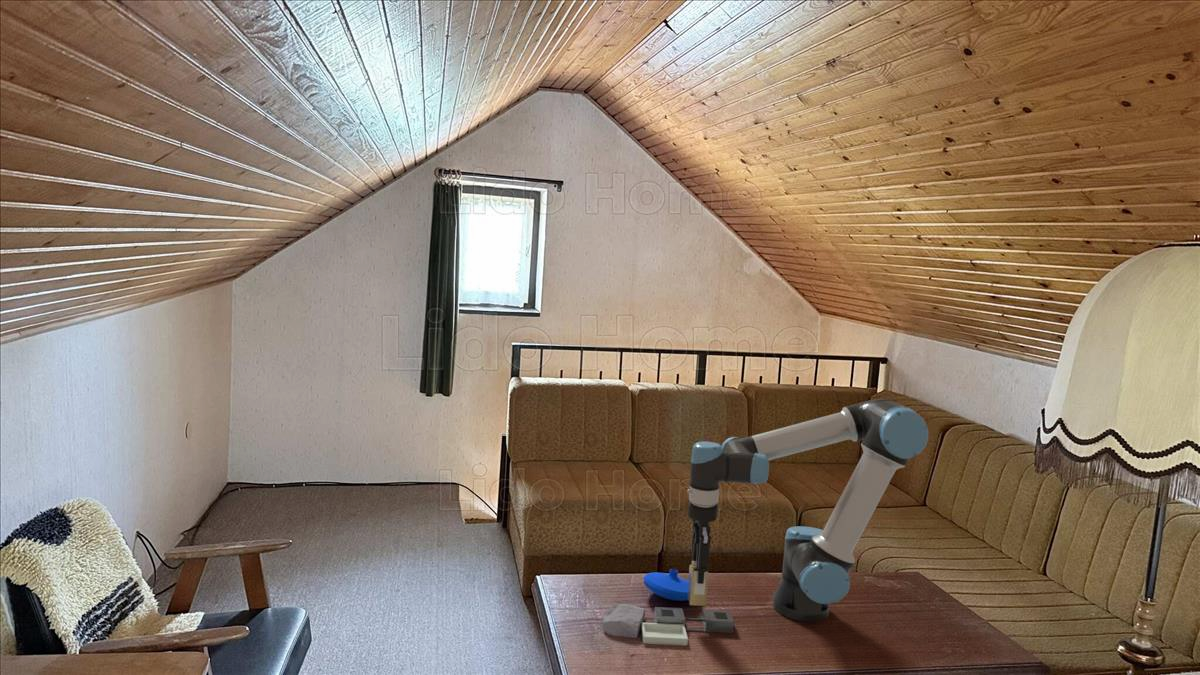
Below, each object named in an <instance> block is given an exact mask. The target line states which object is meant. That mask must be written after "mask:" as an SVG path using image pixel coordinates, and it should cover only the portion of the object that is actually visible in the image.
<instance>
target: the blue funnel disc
mask: <svg viewBox="0 0 1200 675" xmlns="http://www.w3.org/2000/svg"><path fill="white" fill-rule="evenodd" d="M678 573H679V571H678V570H677V569H673V568H670V569H669V573H665V572H657V571H656V572H649V573H647V574H645V575H644V576H643V584H644V585H645V588H648V590H650V591H651V592H652V593H653V594H655V595H657V596H659V597H660V598H661V597H662V598H665V599H667V600H671V601H679V602H683V601H684V602H685V601H689V600H688V583H689V579H688V580H687V579H685V578H683V577H680V576H678Z"/></svg>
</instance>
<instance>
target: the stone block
mask: <svg viewBox="0 0 1200 675" xmlns="http://www.w3.org/2000/svg"><path fill="white" fill-rule="evenodd" d="M609 607H610V608H609V609H608V610H607V612H606V613H605V615H604V617H603V622H602V623H603V624H602V627H603V631H604V632H605V633H606V634H607V635H611V636H614V637H624V638H627V637H628V638H629V639H630V638H632V639H637V638H639V637H638V636H639V634H640V632H641V622H644V620H645V616H646V609H645V608H643V607H640V606H637V605H634V604H627V603H621V604H614V605H612V606H609Z"/></svg>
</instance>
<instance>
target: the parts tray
mask: <svg viewBox="0 0 1200 675" xmlns="http://www.w3.org/2000/svg"><path fill="white" fill-rule="evenodd" d="M685 629H686V625H685V626H684V624H665V623H655V622H644V621H643V622H641V629H640V634H641V638H642V644H644V645H667V646H669V645H670V646H684V647H686V646H687V647H688V642H689V638H688V633H687V631H686V630H685Z"/></svg>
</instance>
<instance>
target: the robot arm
mask: <svg viewBox="0 0 1200 675" xmlns="http://www.w3.org/2000/svg"><path fill="white" fill-rule="evenodd" d="M847 440H848V441H849V440H850V441H853V442H854V443H855V442H859V441H861V443H860V446H861V449H862V452H863V453H862V455H861V457H860V458H859V460H858V463H857V465H856V466H855V468H854V470H853V472H852V474H851V476H850V478H849V480H848V482H847V484H846V486H845V488H844V490H843V491H842V493H841V495H840V497H839V500H838V501H837V503H836V505H835V506H834V509H833V511H832V513H831V514H830V516H829V518H828V520H827V522H826V524H825V526H824V528H823V529H820V528H816V527H812V526H802V525H801V526H797V525H796V526H791V527H789V528H788V529H787V530H786V532H785V537H784V549H783V550H784V551H783V562H782V572H781V573H782V574H781V578H780V581H779V583H778V585H777V588H776V589H775V592H774V593H773V597H772V607H773V608H774V609H775V611H777V612H778V614H780V615H781V616H784V617H786V618H789V619H791V620H795V621H797V622H798V621H799V622H803V623H817V622H823V621H825V620H826V619H827V618H828V617H829V615H830V604H833V603H837V602H839V601H841V600H843V599H844V598H845V596H847V594H848V592H849V590H850V587H851V580H850V579H851V578H850V574H849V573H850V572H851V570H852V568H853V566H854V564H855V563H856V559H855V557H854V556H855V555H854V550H855V548H856V546H857V545H858V543H859V541H860V539H861V536H862V535H863V533H864V531H865V529H866V527H867V525H868V524H869V521H870V520H871V518H872V516H873V514H874V512H875V510H876V508H877V507H878V504H879V503H880V501H881V499H882V497H883V496H884V494H885V492H886V490H887V488H888V486H889V484H890V482H891V480H892V478H893V477H894V475H895V473H896V471H897V470H899V469H901V468H905V467H907V464H908V463H909V461H910V459H911V458H913V457H915V456H918V455H919V454H921V453H923V450H924V449H925V448H926V447H927V444H928V443H929V442H928V441H929V428H928V425H927V423H926V421H925V419H924V418H923V417H922V416H921V415H920V414H918V413H917V411H915V410H914V409H912V408H911V407H908V406H905V405H903V404H901V403H899V402H897V400H893V399H891V398H875V399H870V400H866V401H861V402H859V403H855V404H850V405H848V406H843V407H842V409H841V411H840V412H836V413H831V414H829V415H825V416H821V417H818V418H815V419H810V420H806V421H802V422H798V423H795V424H791V425H788V426H785V427H782V428H777V429H774V430H769V431H766V432H762V433H759V434H754V435H751V436H747V437H742V438H740V437H738V436H731V437H728V438H727V439H725V440H724V441H723V442H722V444H719V443H717V442H711V441H707V440H706V441H698V442H695V443H694V444H693V446H692V450H691V451H692V452H691V457H690V458H691V459H690V470H689V471H690V472H689V473H690V476H689V489H687V490H686V493H687V494H688V500H689V502H688V504H687V516H688V518H689V519H691V520H692V532H691V533H692V534H691V548H690V549H691V550H690V555H691V565H696V568H693V571H695V577H694V592H693V593H694V594H695V595H704V593H705V578H706V572H708V573H709V563H710V562H709V561H710V560H709V559H710V546H711V541H712V540H711V539H712V537H711V535H710V534H711V526H709V525H710V524H709V523H710V522H714V521H715V520H717V518H718V511H719V510H718V508H719V506H718V503H719V497H720V484H721V483H720V482H724V483H735V484H736V483H737V484H751V485H757V484H758V485H759V484H760V485H761V484H765V483H767V481H768V478H769V475H770V474H769V473H770V461H772V460H775V459H779V458H784V457H787V456H790V455H794V454H797V453H803V452H806V451H810V450H815V449H817V448H822V447H825V446H828V445H834V444H837V443H841V442H843V441H847Z"/></svg>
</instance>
